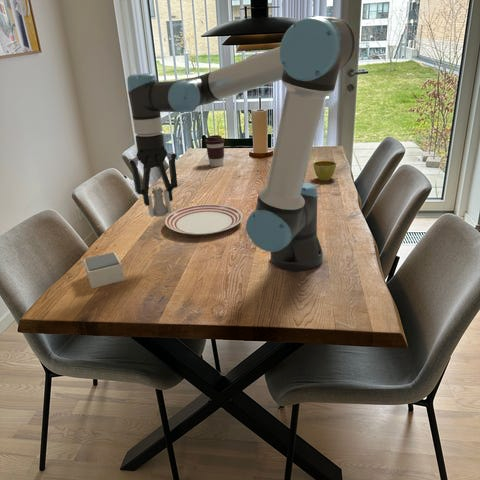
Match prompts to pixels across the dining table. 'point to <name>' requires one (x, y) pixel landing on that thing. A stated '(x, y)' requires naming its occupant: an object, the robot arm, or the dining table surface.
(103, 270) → the stand
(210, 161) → the coffee cup
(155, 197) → the rook chess piece
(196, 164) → the dining table surface
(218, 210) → the dinner plate
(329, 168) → the flower pot
